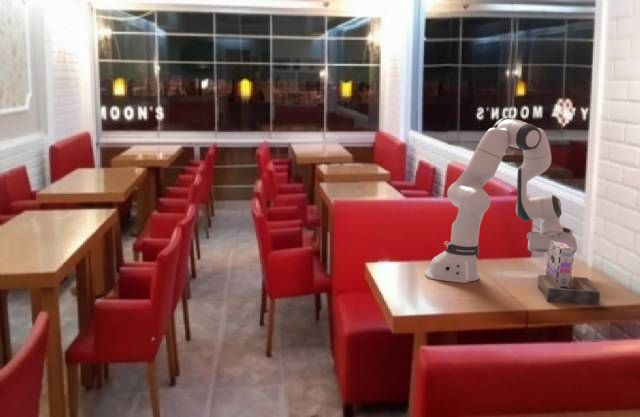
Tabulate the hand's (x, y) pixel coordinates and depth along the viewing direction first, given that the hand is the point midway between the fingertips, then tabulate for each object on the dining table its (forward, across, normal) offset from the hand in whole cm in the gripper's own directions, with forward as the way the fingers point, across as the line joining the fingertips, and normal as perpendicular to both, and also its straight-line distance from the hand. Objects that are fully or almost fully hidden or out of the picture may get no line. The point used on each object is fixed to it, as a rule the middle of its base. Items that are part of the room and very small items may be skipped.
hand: (553, 260), depth 289 cm
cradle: (+24, 0, -15) cm, 28 cm away
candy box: (+13, 0, -4) cm, 13 cm away
